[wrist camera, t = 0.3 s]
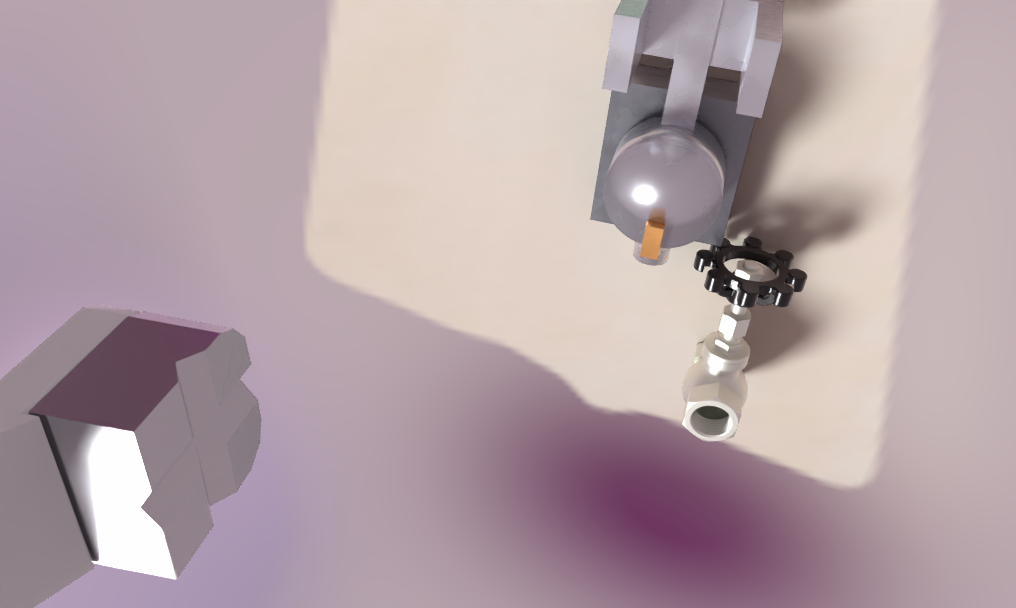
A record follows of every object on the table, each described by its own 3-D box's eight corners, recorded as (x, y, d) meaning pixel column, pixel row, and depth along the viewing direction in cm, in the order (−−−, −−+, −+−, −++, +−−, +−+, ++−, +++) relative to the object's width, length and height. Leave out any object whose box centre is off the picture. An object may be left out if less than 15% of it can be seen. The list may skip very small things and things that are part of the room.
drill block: (621, 61, 54) (613, 79, 51) (760, 86, 53) (758, 106, 50) (592, 230, 60) (584, 253, 58) (715, 256, 59) (711, 281, 57)
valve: (758, 392, 64) (806, 247, 57) (755, 457, 59) (808, 306, 52) (664, 371, 65) (701, 225, 58) (653, 432, 60) (692, 281, 53)
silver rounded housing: (634, -25, 48) (614, 14, 42) (783, 0, 47) (781, 43, 41) (594, 209, 56) (573, 266, 50) (720, 235, 55) (712, 297, 49)
